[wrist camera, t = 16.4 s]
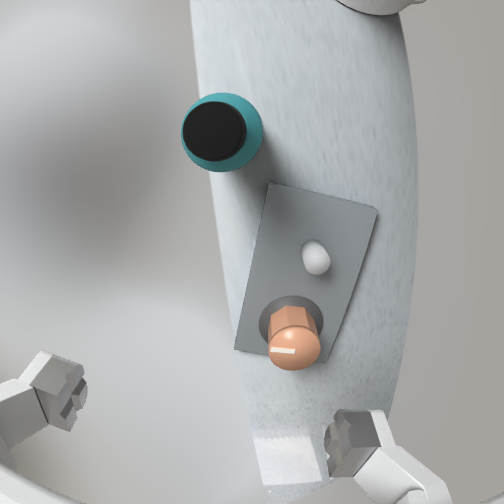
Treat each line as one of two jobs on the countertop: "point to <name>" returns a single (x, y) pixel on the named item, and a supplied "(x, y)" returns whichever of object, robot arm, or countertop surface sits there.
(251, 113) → the beverage bottle
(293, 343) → the knob
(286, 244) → the mount
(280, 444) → the countertop surface
